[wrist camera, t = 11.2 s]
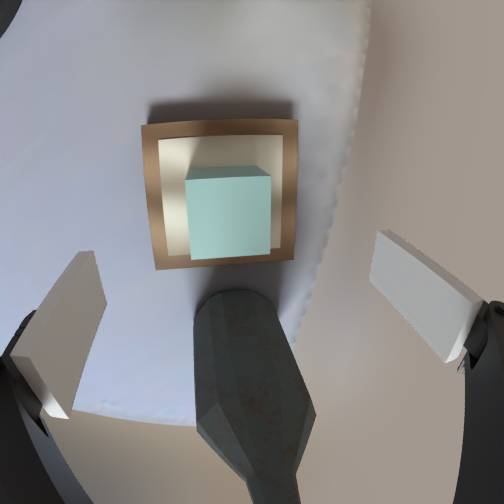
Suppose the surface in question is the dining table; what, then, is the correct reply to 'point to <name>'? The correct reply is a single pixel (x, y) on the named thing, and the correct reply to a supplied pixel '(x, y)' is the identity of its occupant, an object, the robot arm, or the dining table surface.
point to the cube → (228, 211)
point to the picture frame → (217, 155)
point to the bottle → (251, 394)
